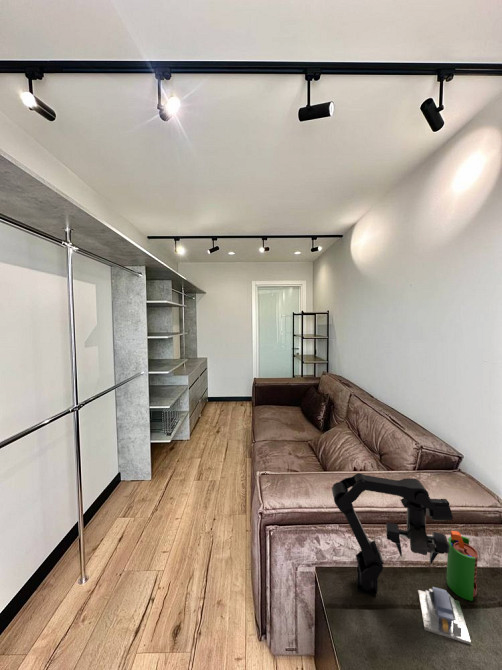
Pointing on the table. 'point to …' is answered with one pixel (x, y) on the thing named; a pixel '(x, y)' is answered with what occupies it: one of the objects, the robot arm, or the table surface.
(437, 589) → the block
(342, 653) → the table surface
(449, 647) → the table surface
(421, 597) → the chassis
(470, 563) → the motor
